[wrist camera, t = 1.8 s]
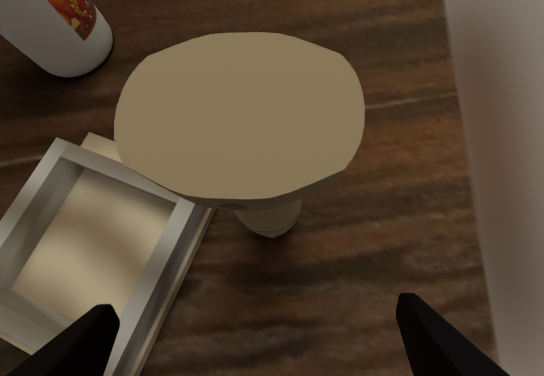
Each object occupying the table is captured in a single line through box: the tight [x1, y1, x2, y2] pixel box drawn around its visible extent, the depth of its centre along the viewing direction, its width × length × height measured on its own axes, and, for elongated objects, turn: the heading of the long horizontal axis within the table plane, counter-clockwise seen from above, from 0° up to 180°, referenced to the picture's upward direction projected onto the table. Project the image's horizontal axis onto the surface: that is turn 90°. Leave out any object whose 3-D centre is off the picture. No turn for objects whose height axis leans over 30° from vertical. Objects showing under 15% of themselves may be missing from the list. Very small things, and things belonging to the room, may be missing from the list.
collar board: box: [0, 132, 216, 376], centre depth 20 cm, size 16×13×4 cm
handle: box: [114, 32, 365, 238], centre depth 14 cm, size 5×6×15 cm
